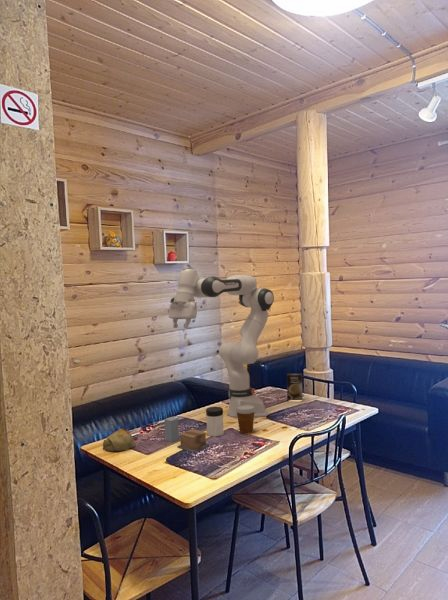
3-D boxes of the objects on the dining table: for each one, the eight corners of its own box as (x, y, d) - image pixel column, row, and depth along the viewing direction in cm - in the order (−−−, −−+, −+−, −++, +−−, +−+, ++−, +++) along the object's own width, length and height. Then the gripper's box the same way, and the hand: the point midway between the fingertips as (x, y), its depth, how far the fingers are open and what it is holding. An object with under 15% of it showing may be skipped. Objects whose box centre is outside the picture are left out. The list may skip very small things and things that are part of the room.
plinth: (193, 440, 203) (192, 427, 203) (209, 445, 197) (208, 432, 196) (177, 447, 196) (176, 434, 196) (193, 452, 189) (192, 438, 189)
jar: (211, 438, 206) (210, 412, 206) (202, 433, 213) (201, 408, 212) (227, 433, 211) (226, 409, 210) (218, 429, 218) (217, 405, 217)
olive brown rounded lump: (140, 443, 203) (139, 426, 203) (126, 454, 191) (125, 435, 191) (113, 441, 207) (112, 424, 207) (98, 451, 195) (97, 433, 195)
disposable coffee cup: (232, 432, 213) (231, 407, 212) (245, 426, 220) (244, 403, 219) (247, 436, 207) (246, 411, 206) (260, 430, 213) (259, 406, 213)
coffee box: (287, 402, 262) (286, 375, 261) (287, 399, 268) (286, 372, 267) (302, 402, 260) (302, 375, 259) (302, 399, 266) (302, 372, 266)
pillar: (172, 437, 209) (171, 416, 208) (179, 439, 206) (178, 418, 205) (165, 440, 205) (164, 419, 205) (171, 442, 202) (170, 420, 202)
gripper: (202, 300, 211) (197, 329, 209) (178, 302, 227) (174, 328, 225) (191, 297, 207) (186, 326, 205) (168, 299, 223) (164, 326, 221)
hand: (180, 327), depth 215 cm, fingers open, 8 cm apart
